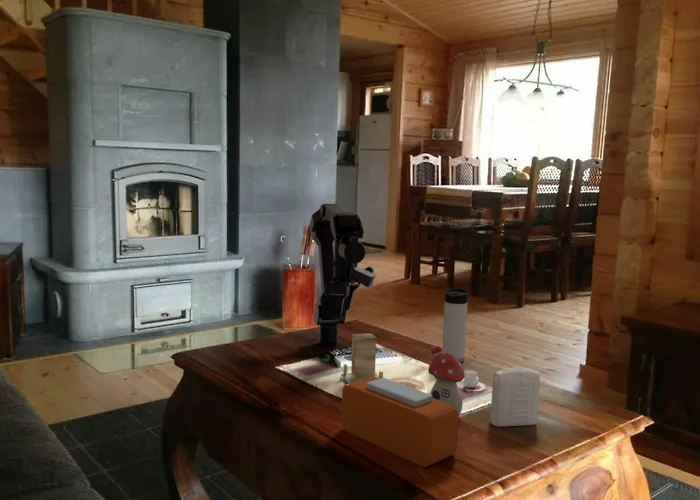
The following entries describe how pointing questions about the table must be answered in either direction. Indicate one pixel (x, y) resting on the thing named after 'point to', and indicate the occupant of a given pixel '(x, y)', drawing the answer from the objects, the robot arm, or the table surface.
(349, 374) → the pin base
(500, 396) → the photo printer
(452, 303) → the travel mug
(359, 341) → the wooden block
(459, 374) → the decorative ornament
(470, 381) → the teacup and saucer
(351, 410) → the alarm clock
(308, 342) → the table surface
